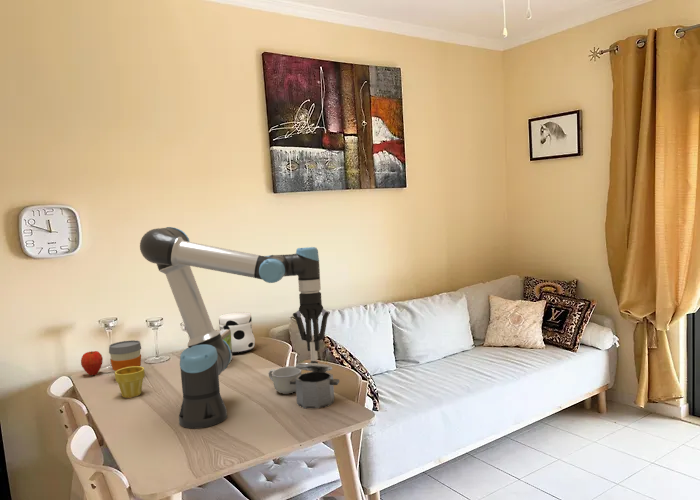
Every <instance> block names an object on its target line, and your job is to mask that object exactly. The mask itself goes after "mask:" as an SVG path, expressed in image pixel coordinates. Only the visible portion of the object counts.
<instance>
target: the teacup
mask: <svg viewBox="0 0 700 500" xmlns="http://www.w3.org/2000/svg"><path fill="white" fill-rule="evenodd" d="M300 374H302V370H301V369H297V368H296V365H293V366H292V365H290V366H282V367H279V368H276V369H275V368H272V369H270V370H269V371H268V378H269V379H270V380H271V381H272V382H273V383H272V384H273V387H274V390H275V391H276V392H278V393H280V394H281V393H283V394H282V395H289V394H288V393H292V394H294V393H293V392H295V393H296V384H290V381H291V380H292V379H296V378H297V377H298V376H299V375H300Z"/></svg>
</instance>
